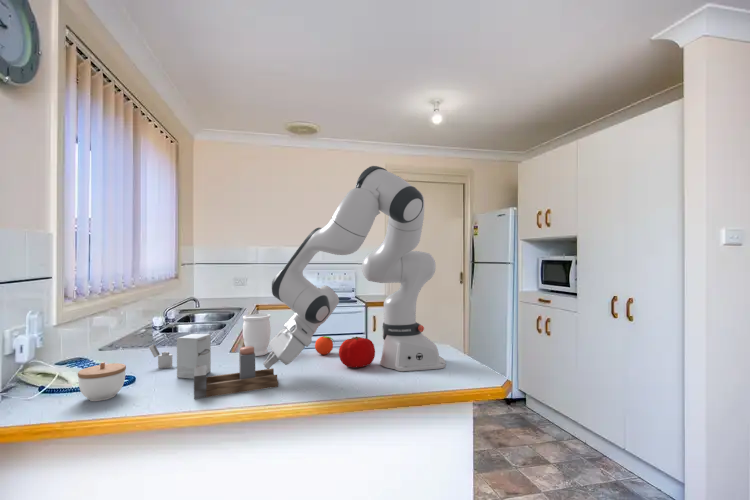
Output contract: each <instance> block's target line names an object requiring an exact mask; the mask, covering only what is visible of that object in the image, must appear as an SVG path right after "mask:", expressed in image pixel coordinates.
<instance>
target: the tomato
mask: <svg viewBox="0 0 750 500" xmlns="http://www.w3.org/2000/svg"><path fill="white" fill-rule="evenodd" d="M365 337H366V336H355V337H354V336H353V337H351V338H347V339H345V340H344V341H343V342H342V343H341V345H340V346H339V349H338V357H339V360H340V361H341V363H342V364H343V365H344V366H346V367H347V368H354V369H355V368H357V369H358V368H364V367H366V366H368V365H371V364H372V363H373V361H374V359H375V357H376V356H375V355H376V348H375V344H374V342H373V341H372V340H371V339H370V338H365Z"/></svg>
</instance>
